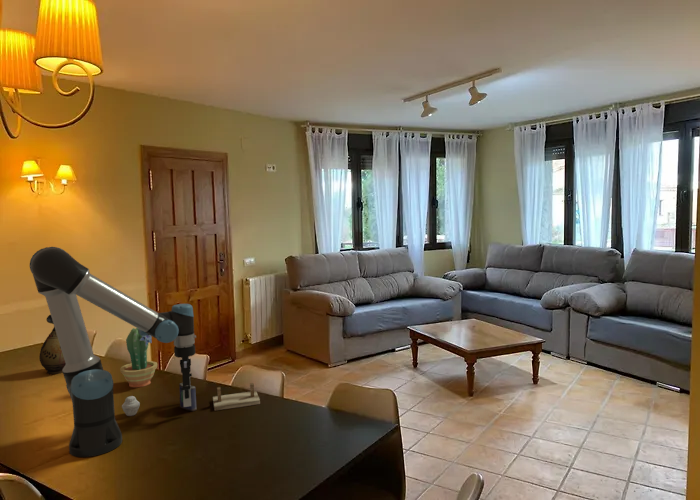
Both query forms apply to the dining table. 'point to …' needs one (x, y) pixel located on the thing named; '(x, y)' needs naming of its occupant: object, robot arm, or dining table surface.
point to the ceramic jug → (52, 353)
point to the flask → (193, 398)
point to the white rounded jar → (130, 406)
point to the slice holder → (235, 399)
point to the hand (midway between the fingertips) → (187, 400)
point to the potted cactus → (138, 360)
